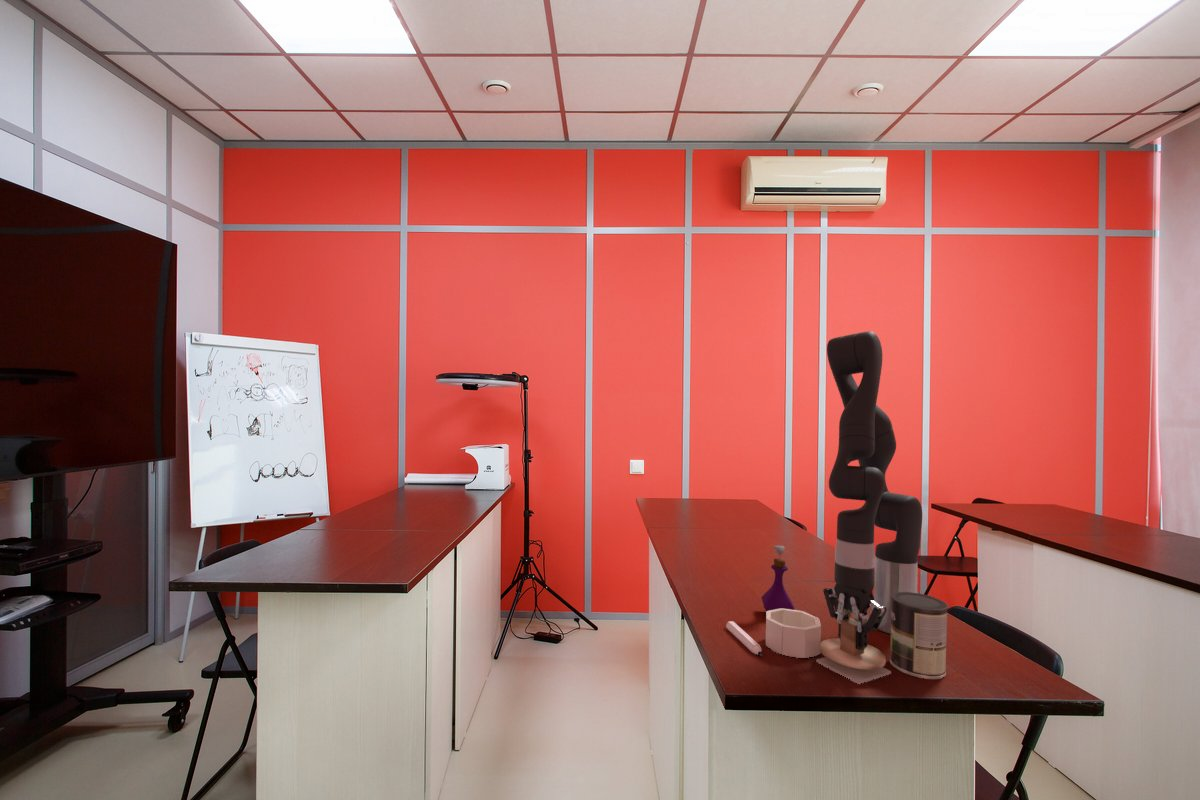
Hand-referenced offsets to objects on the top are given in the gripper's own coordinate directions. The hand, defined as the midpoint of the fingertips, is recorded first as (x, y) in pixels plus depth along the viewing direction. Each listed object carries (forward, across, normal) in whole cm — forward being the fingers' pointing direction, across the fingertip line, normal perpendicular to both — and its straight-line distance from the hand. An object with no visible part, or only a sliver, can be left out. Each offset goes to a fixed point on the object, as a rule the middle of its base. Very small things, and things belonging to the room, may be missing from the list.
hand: (852, 644), depth 112 cm
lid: (+2, 0, 0) cm, 2 cm away
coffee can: (+5, -6, -13) cm, 15 cm away
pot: (+5, +12, +4) cm, 14 cm away
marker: (+5, +18, +12) cm, 22 cm away
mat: (+5, 0, 0) cm, 5 cm away
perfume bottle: (+5, +27, -7) cm, 29 cm away
